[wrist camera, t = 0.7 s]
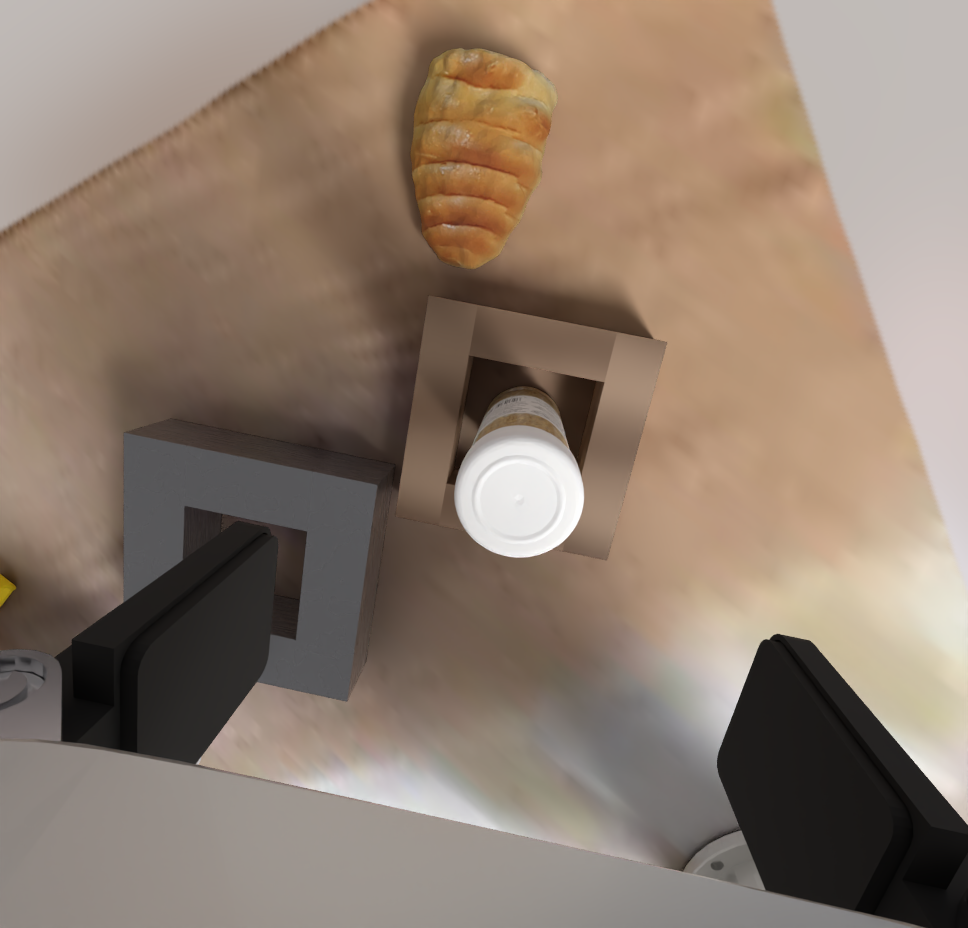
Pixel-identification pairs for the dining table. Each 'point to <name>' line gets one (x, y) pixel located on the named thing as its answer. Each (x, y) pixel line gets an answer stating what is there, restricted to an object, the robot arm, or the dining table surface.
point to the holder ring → (541, 345)
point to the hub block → (275, 500)
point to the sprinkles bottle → (519, 477)
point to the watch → (5, 589)
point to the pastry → (478, 151)
